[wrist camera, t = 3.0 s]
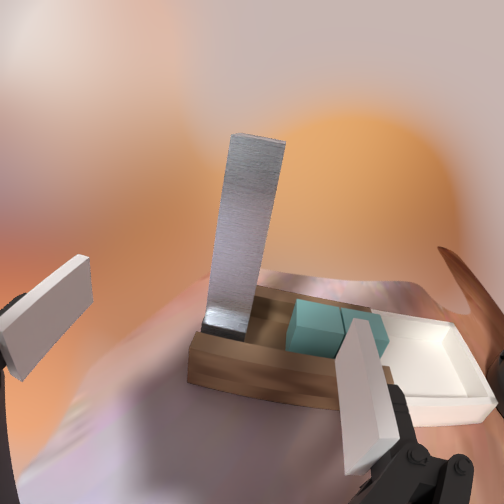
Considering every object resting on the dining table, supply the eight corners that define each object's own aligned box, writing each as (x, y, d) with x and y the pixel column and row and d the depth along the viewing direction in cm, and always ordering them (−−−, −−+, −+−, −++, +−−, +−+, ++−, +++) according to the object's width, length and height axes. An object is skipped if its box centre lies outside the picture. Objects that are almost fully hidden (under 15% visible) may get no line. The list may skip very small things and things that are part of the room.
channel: (357, 336, 33) (370, 307, 31) (373, 413, 23) (394, 383, 21) (215, 309, 33) (220, 277, 32) (187, 382, 23) (189, 347, 22)
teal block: (326, 340, 29) (339, 307, 27) (328, 368, 25) (344, 334, 24) (286, 332, 29) (296, 298, 27) (284, 361, 25) (296, 325, 24)
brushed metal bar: (249, 319, 30) (286, 140, 23) (240, 359, 25) (285, 145, 18) (214, 311, 30) (242, 132, 23) (199, 349, 25) (227, 135, 18)
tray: (442, 341, 33) (453, 322, 32) (481, 422, 21) (498, 403, 19) (355, 328, 34) (364, 307, 33) (375, 426, 21) (392, 405, 20)
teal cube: (365, 346, 29) (380, 314, 27) (371, 374, 25) (389, 341, 23) (328, 340, 29) (341, 307, 27) (331, 368, 25) (346, 334, 24)
